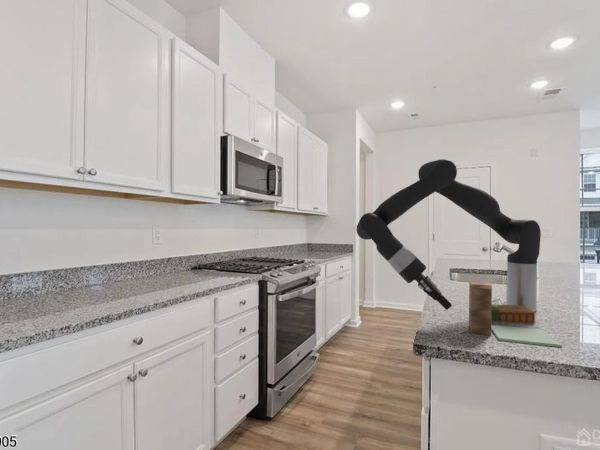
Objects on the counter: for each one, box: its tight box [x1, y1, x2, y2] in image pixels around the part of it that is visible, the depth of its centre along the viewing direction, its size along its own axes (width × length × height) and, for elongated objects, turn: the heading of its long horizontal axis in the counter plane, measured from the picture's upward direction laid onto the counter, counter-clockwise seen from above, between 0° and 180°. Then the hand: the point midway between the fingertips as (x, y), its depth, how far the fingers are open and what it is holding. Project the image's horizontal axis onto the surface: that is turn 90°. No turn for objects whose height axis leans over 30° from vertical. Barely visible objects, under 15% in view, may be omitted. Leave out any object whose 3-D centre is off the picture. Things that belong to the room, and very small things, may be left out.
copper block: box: [468, 280, 493, 336], centre depth 97 cm, size 5×5×14 cm
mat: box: [491, 324, 563, 348], centre depth 93 cm, size 14×13×1 cm
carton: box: [491, 304, 536, 324], centre depth 111 cm, size 8×16×4 cm, turn 81°
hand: (449, 307), depth 99 cm, fingers closed
